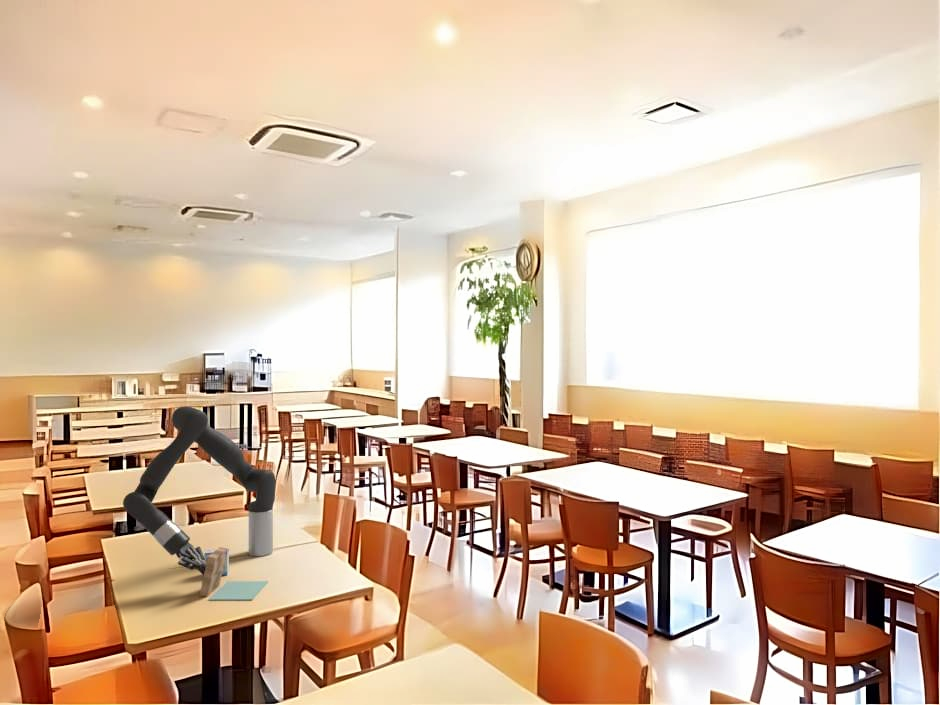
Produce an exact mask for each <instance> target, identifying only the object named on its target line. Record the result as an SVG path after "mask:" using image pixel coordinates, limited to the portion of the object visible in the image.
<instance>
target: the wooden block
mask: <svg viewBox="0 0 940 705" xmlns="http://www.w3.org/2000/svg"><path fill="white" fill-rule="evenodd" d="M216 549H217V550H216V551H214V552H213V553H212V554H211V555H209V556H208V558H207V563H206V568H205V572H204V576H203V578H202V581H201V586H200V591H199V596H200V597H205V598H208V597H209V596H210V595H211V594H212V593H214V591H216V589H218V588H220V584H221V579H222V577H223V576H222V571H223V567H224V562H225V557H226V553H227V549H228V548H226V547H221V546H219V547H218V548H216Z"/></svg>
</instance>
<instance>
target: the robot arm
mask: <svg viewBox="0 0 940 705" xmlns="http://www.w3.org/2000/svg"><path fill="white" fill-rule="evenodd" d="M208 418H209V417H208V416H207V413H206V412H204V411H202V410H201V409H198V408H195V407H192V406H180V407H178V408H176V409H175V410H174V411H173V413H172V415H171V422H172V425H173V427H174V428H175V429H176V431H178V434H177V435H176V437H175V438H174V440H173V441H171V443H169V445H168V446H167V447H165V448H164V449H163V450H161V452H159V453H158V454H157V455H156V456H154V458H152V459H151V461H150V462H149V464H148V466H147V467H146V468H145V470H144V472H143V473H142V475H141V476H140V478H139V483H138V485H137V487H136V488H135V489H134V491H132V492H129V493H128V494H127V495H126V496H124V498H123V501H122V506H123V508H124V510H125V511H126V513H127V514H129V515H130V516H131V517H132V518H133V519H135V520H136V521H137V522H138V523H140V524H141V525H142V526H143V527H144V528H145V530H147V532H149V534H150V535H152V536H153V538H154V539H155V541H156V543H158V544H159V545H160V546H161V547H162V548H163V549H164V550H165V551H166V552H167V553H168V554H169V555H170V556H174V555H176V557H177V558H178V559H179V561H178V562H177V564H178V566H182V567H184V568H187V569H189V570H191V571H193V570H197V571H198V572H199V573H201V575H202V576H203V577H204V572H205V568H206V565H205V564H204V560H205V558H204V553H203V551H202V549H201V548H202V547H201V546H197V547H194V545H193V544H191V543H190V542H189V541H190V540H191V539H190V538H191V537H190V536H189V535H188V534H187V533H186V532H185V531H183V529H181V528H180V526H179V525H178V524H176V523H175V522H174V521H173V520H172V519H170V518H169V517H168V516H167V515H166V514H165V512H163V511H162V510H160V509H158V508H157V507H156V506H155V505H154V504H153V501H154V499H155V497H156V495H157V493H158V492H159V489H160V487H161V486H162V484H163V483H164V482H165V480H166V479H167V477H168V476H169V474H170V473H171V471H172V470H173V468H174V466H175V465H176V463H177V462H178V461H179V460H180V458H182V456H183V455H184V454H185V453H186V452H187V450H188V449H189V448H190V447H191V446H192V445H193V444H194V443H196V444H197V445H198V446H199V447H200V448H201V449H202V450H203V451H204V452H205V453H206V454H208V456H209V457H210V458H211V459H213V460H214V461H215V462H216V463H218V465H220V466H221V467H222V468H223V469H225V470H226V471H227V472H229V473H230V474H231V475H233V476H234V477H235V478H236V479H237V480H238V482H239V483H240V484H241V485H242V486H243V487H244V488H245V489H246V490H247V491H249V492H250V493H256V498H255V500H254V501H251V502H249V504H248V555H249V556H251V557H263V556H265V557H266V556H269V555H271V554H273V552H274V516H273V515H274V509H273V508H274V503H275V500H276V486H277V485H276V476H275V474H274V472H273V471H272V470H268V469H262V468H261V469H260V468H257V467H254V466H252V464H250V463H249V462H248V461H246V459H245V457H244V453H243V450H242V449H241V447H240V446H239V445H237V443H235V442H234V441H233V440H232V439H231V438H229V437H227V436H226V435H225V434H223V433H222V432H220V431H219V430H216V429H214V428H212V427H211V426H210V425H208V423H209V419H208ZM268 554H269V555H268Z"/></svg>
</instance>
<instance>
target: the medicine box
mask: <svg viewBox="0 0 940 705" xmlns="http://www.w3.org/2000/svg"><path fill="white" fill-rule="evenodd" d="M217 549H218V548H216V549H206V550H205V552H204V553H203V555H204V558H205V560H204V564H205V565H206V563H207V558H208V556H209V555H211V554H212V553H213V552H214V551H216V550H217ZM226 549H227V553H226V557H225V562H224V567H223V571H222V575H225V576H228V574H229V571H230V567H229V564H230V561H229V560H230V558H229V557H230V553H229V551H230V549H229V548H226Z"/></svg>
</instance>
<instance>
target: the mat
mask: <svg viewBox="0 0 940 705" xmlns="http://www.w3.org/2000/svg"><path fill="white" fill-rule="evenodd" d="M268 583H269V581H268V580H237V581H235V580H233V581H232V580H229V581H228V580H227V581H226V582H225V583H224V584H223V585H222V586H221V587H219V588H218V590H217V591H216V592H214V593H213V594H212V595H211V597H209V599H208V601H210V600H212V601H213V602H214V601H217V600H221V602H222V601H223V602H224V601H225V602H226V600H227V601H253V600H254V599H255V598H256V596H257V595H258V594H259V593H261V591H262V590H263V589H264V588H265V586H266V585H267V584H268ZM262 588H263V589H262ZM210 602H211V601H210Z"/></svg>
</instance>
